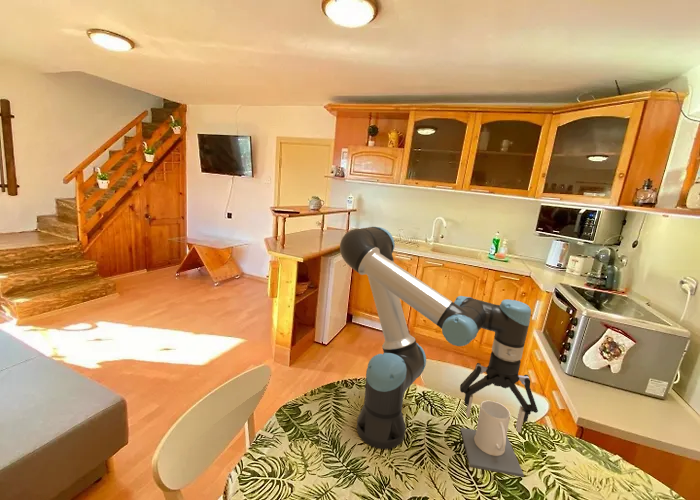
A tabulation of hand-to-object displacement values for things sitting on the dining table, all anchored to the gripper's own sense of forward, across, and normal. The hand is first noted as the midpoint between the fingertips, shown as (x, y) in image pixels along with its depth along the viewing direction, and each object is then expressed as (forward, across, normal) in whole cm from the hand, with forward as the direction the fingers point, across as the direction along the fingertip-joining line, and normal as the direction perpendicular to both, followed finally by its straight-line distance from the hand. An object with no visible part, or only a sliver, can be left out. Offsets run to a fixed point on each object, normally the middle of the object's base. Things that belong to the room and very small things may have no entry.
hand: (492, 421), depth 90 cm
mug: (+9, +1, 0) cm, 9 cm away
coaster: (+10, +1, 0) cm, 10 cm away
